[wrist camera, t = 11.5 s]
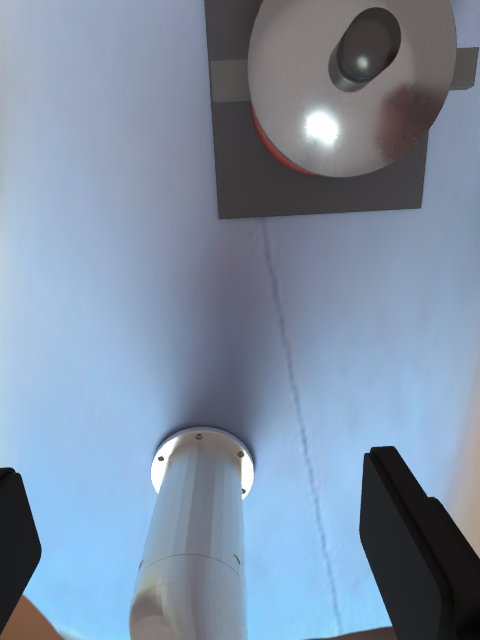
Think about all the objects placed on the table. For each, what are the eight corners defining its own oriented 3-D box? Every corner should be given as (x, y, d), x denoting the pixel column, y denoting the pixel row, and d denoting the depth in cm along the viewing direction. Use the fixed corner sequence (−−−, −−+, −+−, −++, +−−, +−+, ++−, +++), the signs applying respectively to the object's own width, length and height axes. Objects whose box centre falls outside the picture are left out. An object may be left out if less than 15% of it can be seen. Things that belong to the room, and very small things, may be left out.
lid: (434, 174, 28) (475, 169, 23) (249, 180, 28) (253, 176, 23) (462, -60, 24) (520, -125, 19) (244, -54, 24) (247, -118, 19)
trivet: (418, 208, 37) (420, 208, 37) (219, 218, 37) (218, 219, 36) (441, -42, 31) (445, -46, 30) (202, -30, 31) (202, -34, 30)
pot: (420, 170, 35) (472, 162, 28) (220, 181, 35) (217, 175, 28) (435, 6, 31) (500, -56, 24) (210, 17, 31) (203, -41, 24)
